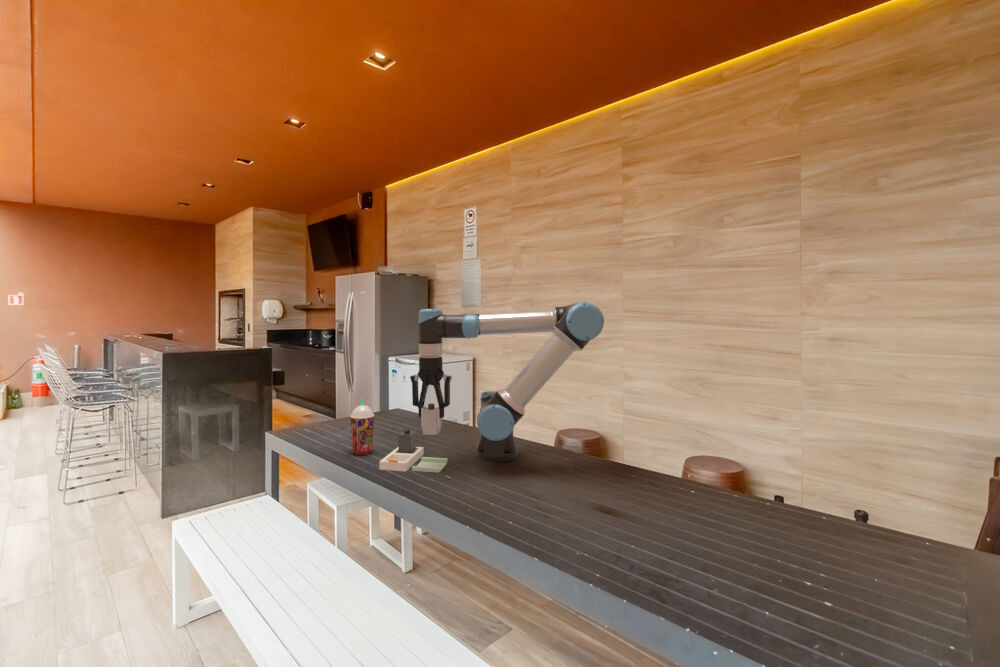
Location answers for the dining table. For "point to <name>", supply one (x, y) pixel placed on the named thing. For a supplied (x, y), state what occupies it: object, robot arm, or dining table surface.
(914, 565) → the dining table surface
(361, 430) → the smoothie
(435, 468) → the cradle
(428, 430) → the plug
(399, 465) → the cream rectangular tray
